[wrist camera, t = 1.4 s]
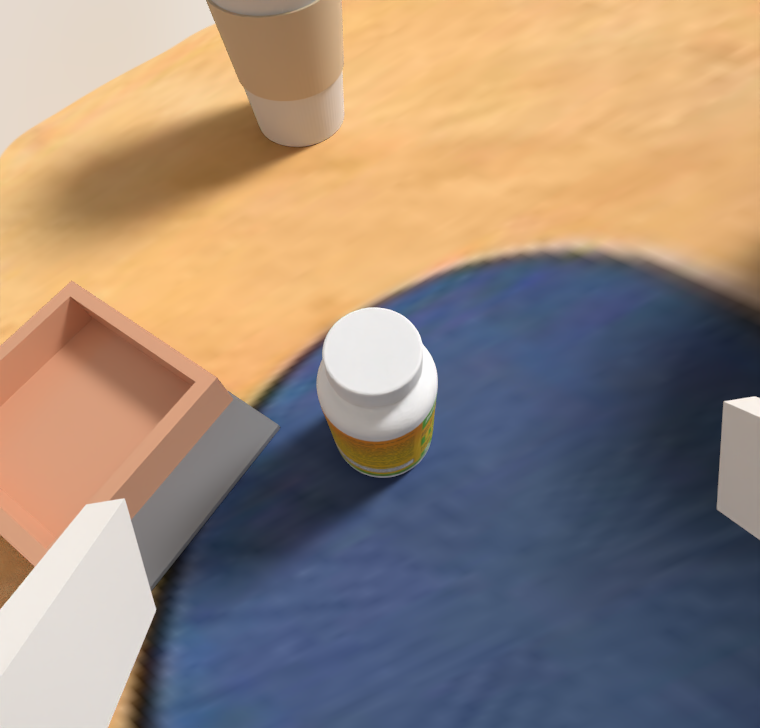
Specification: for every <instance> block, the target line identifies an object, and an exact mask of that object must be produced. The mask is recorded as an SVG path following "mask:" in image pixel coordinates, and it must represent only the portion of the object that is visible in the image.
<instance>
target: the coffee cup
mask: <svg viewBox="0 0 760 728" xmlns="http://www.w3.org/2000/svg"><path fill="white" fill-rule="evenodd" d="M206 1H207V4H208V6H209V8H210V11H211V13H212V16H213V18H214V21H215V23H216V26H217V28H218V30H219V33H220V35H221V38H222V40H223V43H224V45H225V47H226V50H227V52H228V55H229V57H230V60H231V62H232V64H233V67H234V69H235V72H236V74H237V77H238V79H239V81H240V83H241V84H242V86H243V87H244V89H245V92H246V94H247V97H248V99H249V102H250V104H251V107H252V109H253V112H254V114H255V117H256V120H257V122H258V125H259V127H260V129H261V131H262V133H263V134H264V135H265V136H266V137H267V138H268V139H270V140H271V141H273V142H275V143H278V144H280V145H284V146H291V147H303V146H310V145H314V144H317V143H320V142H322V141H324V140H326V139H328V138H329V137H331V136H332V135H333V134H334V133H335V132H336V131H337V130H338V129H339V128H340V126H341V125H342V122H343V119H344V97H343V74H342V70H343V65H344V55H343V25H342V0H206Z"/></svg>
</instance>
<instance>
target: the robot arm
mask: <svg viewBox="0 0 760 728" xmlns="http://www.w3.org/2000/svg"><path fill="white" fill-rule="evenodd" d="M717 510H718V511H720V512H721V513H722V514H724V515H725V516H727V517H728V518H730V519H731V520H732V521H734V522H735V523H737V524H738V525H739V526H741V527H742V528H744V529H745V530H746V531H748V532H749V533H751V534H752V535H753V536H755V537H756V538H758V539H759V540H760V398H758V397H756V396H754V397H748V398H742V399H735V400H729V401H724V402H723V417H722V433H721V449H720V465H719V481H718V497H717ZM155 612H156V608H155V604H154V600H153V597H152V593H151V590H150V586H149V583H148V579H147V575H146V572H145V568H144V565H143V561H142V558H141V554H140V551H139V547H138V543H137V540H136V536H135V533H134V529H133V526H132V522H131V519H130V515H129V511H128V508H127V504H126V501H125V498H123V499H117V500H110V501H104V502H98V503H92V504H86V505H85V506H84V508H83V509H82V510H81V511H80V513H79V514H78V515H77V516H76V517H75V519H74V520H73V521H72V522H71V524H70V525H69V526H68V527H67V528H66V530H65V531H64V532H63V533H62V535H61V536H60V537H59V538H58V539H57V541H56V542H55V543H54V544H53V546H52V547H51V548H50V549H49V550H48V552H47V553H46V554H45V555H44V557H43V558H42V559H41V560H40V561H39V563H38V564H37V565H36V566H35V568H34V569H33V570H32V571H31V573H30V574H29V575H28V576H27V577H26V579H25V580H24V581H23V582H22V584H21V585H20V586H19V587H18V588H17V590H16V591H15V592H14V593H13V595H12V596H11V597H10V598H9V599H8V601H7V602H6V603H5V604H4V606H3V607H2V608H1V609H0V728H108V726H109V723H110V721H111V719H112V716H113V714H114V711H115V709H116V706H117V704H118V702H119V699H120V697H121V694H122V692H123V689H124V687H125V685H126V682H127V680H128V677H129V675H130V672H131V670H132V668H133V665H134V663H135V660H136V658H137V655H138V653H139V651H140V648H141V646H142V643H143V641H144V638H145V636H146V634H147V631H148V629H149V626H150V624H151V621H152V619H153V617H154V614H155Z"/></svg>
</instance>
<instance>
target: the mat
mask: <svg viewBox="0 0 760 728" xmlns="http://www.w3.org/2000/svg"><path fill="white" fill-rule="evenodd" d="M228 393H229V394H230V395H231V396H232V398H233V401H232V402H231V403H230V404H229V405H228V406H227V408H226V409H225V410H224V411H223V412H222V413H221V415H220V416H219V417H218V418H217V419H216V421H215V422H214V423H213V424H212V425H211V426H210V428H209V429H208V430H207V431H206V432H205V433H204V435H203V436H202V437H201V438H200V439H199V441H198V442H197V443H196V444H195V445H194V446H193V448H192V449H191V450H190V451H189V452H188V454H187V455H186V456H185V457H184V458H183V459H182V461H181V462H180V463H179V464H178V465H177V466H176V468H175V469H174V470H173V471H172V472H171V474H170V475H169V476H168V477H167V478H166V479H165V481H164V482H163V483H162V484H161V485H160V486H159V488H158V489H157V490H156V491H155V492H154V494H153V495H152V496H151V497H150V498H149V499H148V501H147V502H146V503H145V504H144V505H143V507H142V508H141V509H140V510H139V511H138V512H137V514H136V515H135V516H134V517H133V518H132V519H131V522H132V526H133V529H134V533H135V536H136V540H137V543H138V547H139V551H140V554H141V558H142V561H143V565H144V568H145V572H146V575H147V579H148V583H149V586H150V590H151V591H152V590H153V588H154V587H155V586H156V585H157V583H158V582H159V581H160V580H161V578H162V577H163V576H164V574H165V573H166V572H167V571H168V569H169V568H170V567H171V566H172V564H173V563H174V562H175V561H176V559H177V558H178V557H179V556H180V554H181V553H182V552H183V550H184V549H185V548H186V547H187V545H188V544H189V543H190V542H191V540H192V539H193V538H194V537H195V535H196V534H197V533H198V531H199V530H200V529H201V528H202V526H203V525H204V524H205V523H206V521H207V520H208V519H209V518H210V516H211V515H212V514H213V512H214V511H215V510H216V509H217V507H218V506H219V505H220V504H221V502H222V501H223V500H224V499H225V497H226V496H227V495H228V493H229V492H230V491H231V490H232V488H233V487H234V486H235V485H236V483H237V482H238V481H239V480H240V478H241V477H242V476H243V475H244V473H245V472H246V471H247V469H248V468H249V467H250V466H251V464H252V463H253V462H254V461H255V459H256V458H257V457H258V456H259V454H260V453H261V452H262V450H263V449H264V448H265V447H266V445H267V444H268V443H269V442H270V440H271V439H272V438H273V437H274V435H275V434H276V433H277V431H278V430H279V429H280V426H279V425H278V424H276V423H275V422H273V421H272V420H270V419H269V418H267V417H266V416H264V415H263V414H261V413H260V412H258V411H257V410H255V409H254V408H252V407H251V406H249V405H248V404H246V403H245V402H243V401H242V400H240V399H239V398H237V397H236V396H235V395H233V394H232V393H230V392H229V391H228Z"/></svg>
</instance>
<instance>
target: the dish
mask: <svg viewBox="0 0 760 728" xmlns="http://www.w3.org/2000/svg"><path fill="white" fill-rule="evenodd" d="M232 401H233V398H232V396H231V395H230V394H229V393H228V391H227V390H226V389H225V387H224V386H223V385H222V383H221V382H220V381H219V380H218V378H217V377H215V376H214V375H212V374H211V373H209V372H208V371H206V370H205V369H203V368H202V367H200V366H199V365H197V364H196V363H194V362H193V361H191V360H190V359H188V358H187V357H185V356H184V355H182V354H181V353H179V352H178V351H176V350H175V349H173V348H172V347H170V346H169V345H167V344H166V343H164V342H163V341H161V340H160V339H158V338H157V337H155V336H154V335H152V334H151V333H149V332H148V331H146V330H145V329H143V328H142V327H140V326H139V325H137V324H136V323H134V322H133V321H131V320H130V319H128V318H127V317H125V316H124V315H122V314H121V313H119V312H118V311H116V310H115V309H113V308H112V307H110V306H109V305H107V304H106V303H105V302H103V301H102V300H100V299H99V298H97V297H96V296H94V295H93V294H91V293H90V292H88V291H87V290H85V289H84V288H82V287H81V286H79V285H78V284H76V283H75V282H73V281H71V282H70V283H69V284H68V285H66V286H65V287H64V288H63V289H62V290H61V291H60V292H59V293H58V294H57V295H55V296H54V297H53V298H52V299H51V300H50V301H49V302H48V303H47V304H46V305H44V306H43V307H42V308H41V309H40V310H39V311H38V312H37V313H36V314H35V315H34V316H32V317H31V318H30V319H29V320H28V321H27V322H26V323H25V324H24V325H23V326H21V327H20V328H19V329H18V330H17V331H16V332H15V333H14V334H13V335H12V336H10V337H9V338H8V339H7V340H6V341H5V342H4V343H3V344H2V345H1V346H0V535H1V536H2V537H3V538H4V539H6V540H7V541H8V542H9V543H10V544H11V545H12V546H13V547H14V548H15V549H16V550H17V551H18V552H19V553H20V554H22V555H23V556H24V557H25V558H26V559H27V560H28V561H29V562H30V563H31V564H32V565H33V566H34V567H35V566H36V565H37V564H38V563H39V561H40V560H41V559H42V558H43V557H44V555H45V554H46V553H47V552H48V550H49V549H50V548H51V547H52V546H53V544H54V543H55V542H56V541H57V539H58V538H59V537H60V536H61V535H62V533H63V532H64V531H65V530H66V528H67V527H68V526H69V525H70V524H71V522H72V521H73V520H74V519H75V517H76V516H77V515H78V514H79V513H80V511H81V510H82V509H83V508H84V506H85V505H86V504H92V503H98V502H104V501H110V500H117V499H123V498H125V501H126V504H127V508H128V511H129V515H130V519H132V518H133V517H134V516H135V515H136V514H137V512H138V511H139V510H140V509H141V508H142V507H143V505H144V504H145V503H146V502H147V501H148V499H149V498H150V497H151V496H152V495H153V494H154V492H155V491H156V490H157V489H158V488H159V486H160V485H161V484H162V483H163V482H164V481H165V479H166V478H167V477H168V476H169V475H170V474H171V472H172V471H173V470H174V469H175V468H176V466H177V465H178V464H179V463H180V462H181V461H182V459H183V458H184V457H185V456H186V455H187V454H188V452H189V451H190V450H191V449H192V448H193V446H194V445H195V444H196V443H197V442H198V441H199V439H200V438H201V437H202V436H203V435H204V433H205V432H206V431H207V430H208V429H209V428H210V426H211V425H212V424H213V423H214V422H215V421H216V419H217V418H218V417H219V416H220V415H221V413H222V412H223V411H224V410H225V409H226V408H227V406H228V405H229V404H230V403H231V402H232Z"/></svg>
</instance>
